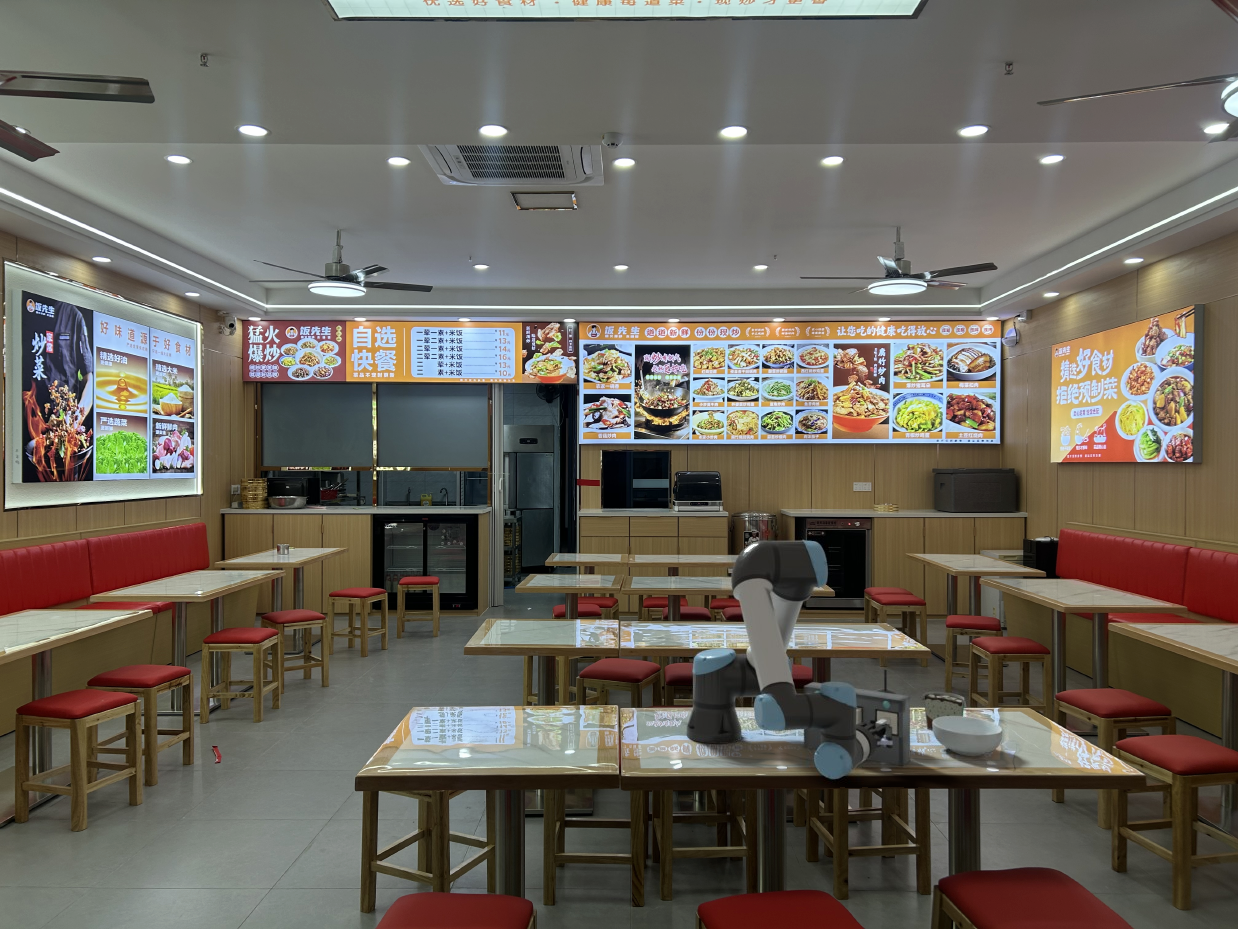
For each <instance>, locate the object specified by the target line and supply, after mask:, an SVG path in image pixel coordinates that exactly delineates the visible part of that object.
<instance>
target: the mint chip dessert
mask: <svg viewBox="0 0 1238 929" xmlns="http://www.w3.org/2000/svg"><path fill="white" fill-rule="evenodd" d="M921 701H923V704H924V713H925V724H926V730H931V731H933V727H932V722H933V720H934V719H936V718H939V717H945V716H963V717H964V711H965V709H966V708H967V707H968V706H967V704H966V702H967V701H966V699H965V697H964V696H962V695H959V694H957V693H952V692H942V691H941V692H940V691H928V692H924V693H923V695H922V697H921Z"/></svg>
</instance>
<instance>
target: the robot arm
mask: <svg viewBox="0 0 1238 929" xmlns="http://www.w3.org/2000/svg"><path fill="white" fill-rule="evenodd" d="M827 562H828V561H827V557H826V553H825V551H824V549H823V547H822V545H821V544H820V543H819V542H817V541H814V540H813V541H812V540H805V539H802V540H758V541H755V542H752V543H750V544H749V545H747V546H746V547H744V548H743V550H742V551H741V552H740V553H739V554H738V556H737V557H736V559H735V562H733V563H734V565H733V567H732V571H731V577H730V578H731V579H730V580H731V583H730V584H731V590H732V593H733V594H732V595H733V597H734V599H736V600H737V601H739V605H740V609H741V614H742V618H743V623H744V626H745V632H746V634H747V639H748V642H749V644H748V648H747V649H746V652H745V653H736V651H735V650H734V649H732V648H728V647H727V648H725V647H724V648H711V649H706V650H702V651H700V652H698V653H697V654H696V655H695V656H694V657H693V665H692V687H693V688H692V709H691V711H690V712H691V713H690V716H689V719H688V722H687V724H686V736H687V738H689V739H690V740H693V741H695V742H699V743H700V742H701V743H705V744H706V743H708V744H728V743H734V742H737V741H739V740H741V738H742V726H741V723H740V720H739V717H738V713H737V709H736V698H755V699H754V703H753V712H754V720H755V722H756V725H757V726H758V728H759V729H761V730H762V731H773V732H782V731H792V730H793V731H794V730H795V731H796V730H804V729H821V745H820V746H819V747H818V749H815V752H814V754H813V755H814V756H813V760H814V761H813V762H814V764H815V767H816V769H817V770H818V772H819V773H820V774H821V775H822V776H824V777H825V778H828V779H830V780H836V779H837V780H838V779H840V778H842V777H844V776H847V775H848V774H850V772H852V771H853V770H854V769H855V768H856V767H858V766H859V765H860V764H862V763H863V762H865V761H867V760H868V759H867V758H869V757H870V756H871V755H872V754H873V753H874V751H875V749H876V748H879V747H881V745H884V746H886V747H887V748H893V747H892V744H893V743H892V727H891V726H890V718H887V717H884V718H882V719H881V720H879V721H878V722H875V720H870V724H868V725H867V723H865V722H862V723H859V724H856V708H857V705H856V693H855V688H856V687H854V686H853V685H852V684H850V683H847V682H843V681H825V682H822V685H821V689H820V693H804V692H803V693H797V691H796V687H795V683H794V681H793V676H792V675H793V667H792V662H791V659H790V658H789V656H788V654H787V650H788V647H789V644H790V641H791V639H792V635H793V633H794V629H795V626H796V623H797V620H798V618H799V615H800V610H801V609H802V606H803V603H804V602H806V601H807V600H808V599H809V598H810V597H811V596H812V595H813V592H814V589H815V588H817V589H820V588H823V587H824V586H825V585H826V584H827V582H828V575H829V572H828V571H829V570H828V563H827Z"/></svg>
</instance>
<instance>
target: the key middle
mask: <svg viewBox="0 0 1238 929" xmlns="http://www.w3.org/2000/svg"><path fill="white" fill-rule="evenodd" d="M862 722H863V707H857V708H856V724H859V723H862Z"/></svg>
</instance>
